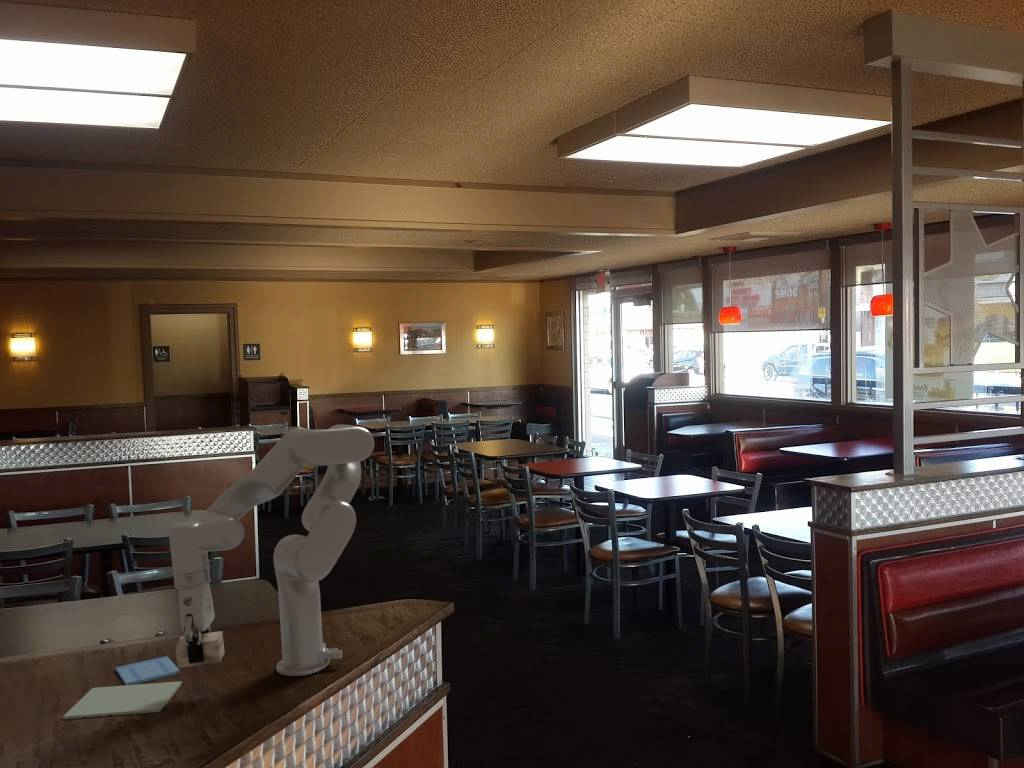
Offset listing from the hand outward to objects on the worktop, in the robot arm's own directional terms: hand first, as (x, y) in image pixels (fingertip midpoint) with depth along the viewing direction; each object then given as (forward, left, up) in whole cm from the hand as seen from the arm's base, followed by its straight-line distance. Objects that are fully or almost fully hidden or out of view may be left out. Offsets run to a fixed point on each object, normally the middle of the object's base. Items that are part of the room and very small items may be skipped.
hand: (200, 655), depth 201 cm
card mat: (+17, +1, -9) cm, 19 cm away
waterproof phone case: (+18, -18, -9) cm, 27 cm away
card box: (0, 0, -1) cm, 1 cm away
